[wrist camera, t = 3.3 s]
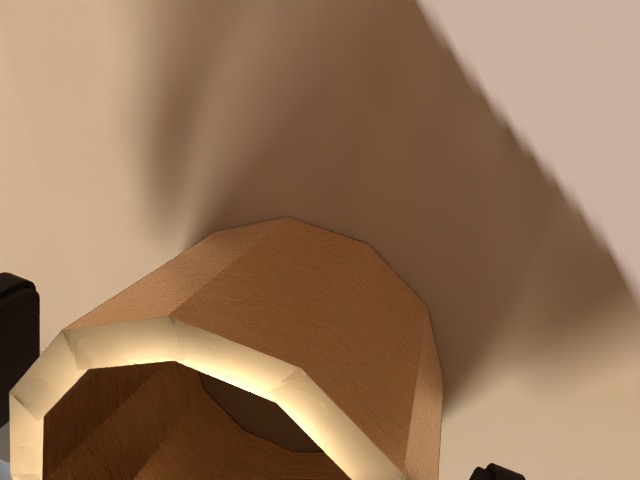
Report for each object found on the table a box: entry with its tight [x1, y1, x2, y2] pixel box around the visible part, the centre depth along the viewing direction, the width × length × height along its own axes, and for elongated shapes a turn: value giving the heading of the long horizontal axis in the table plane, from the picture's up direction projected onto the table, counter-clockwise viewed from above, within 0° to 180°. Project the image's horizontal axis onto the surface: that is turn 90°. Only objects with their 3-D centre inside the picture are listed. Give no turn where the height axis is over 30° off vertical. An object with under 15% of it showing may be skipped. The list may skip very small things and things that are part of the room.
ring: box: [9, 217, 444, 480], centre depth 10 cm, size 7×7×5 cm
